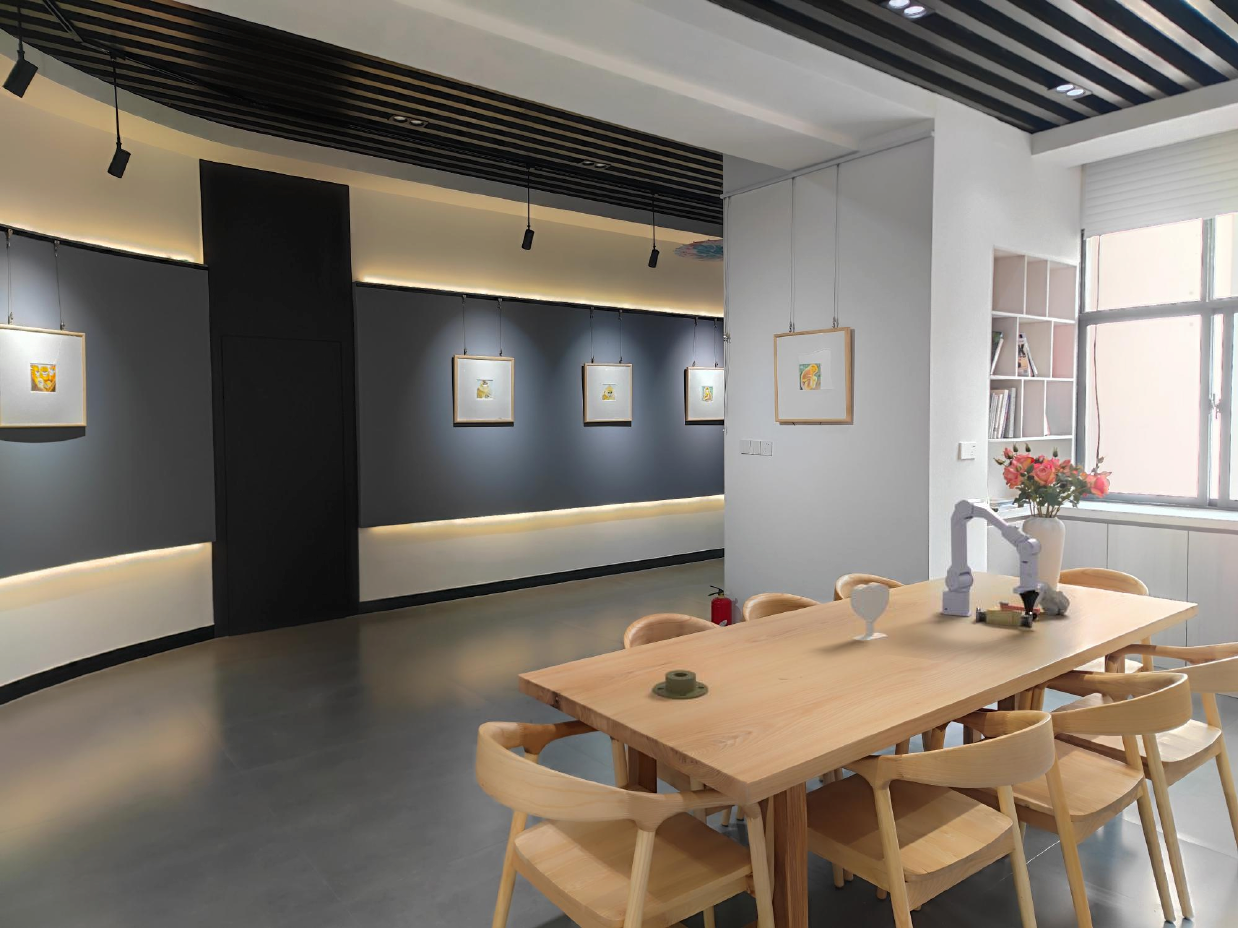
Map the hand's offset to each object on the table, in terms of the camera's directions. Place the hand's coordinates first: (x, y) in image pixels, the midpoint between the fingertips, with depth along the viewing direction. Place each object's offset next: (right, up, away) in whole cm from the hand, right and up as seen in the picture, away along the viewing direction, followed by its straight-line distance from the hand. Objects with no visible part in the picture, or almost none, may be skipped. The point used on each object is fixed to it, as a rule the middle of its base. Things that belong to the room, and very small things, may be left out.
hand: (1028, 611), depth 283 cm
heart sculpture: (-58, -7, -8) cm, 59 cm away
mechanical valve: (+14, -5, +16) cm, 22 cm away
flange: (-126, -11, -60) cm, 140 cm away
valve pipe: (-5, -6, +7) cm, 11 cm away
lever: (-2, 0, +4) cm, 4 cm away
